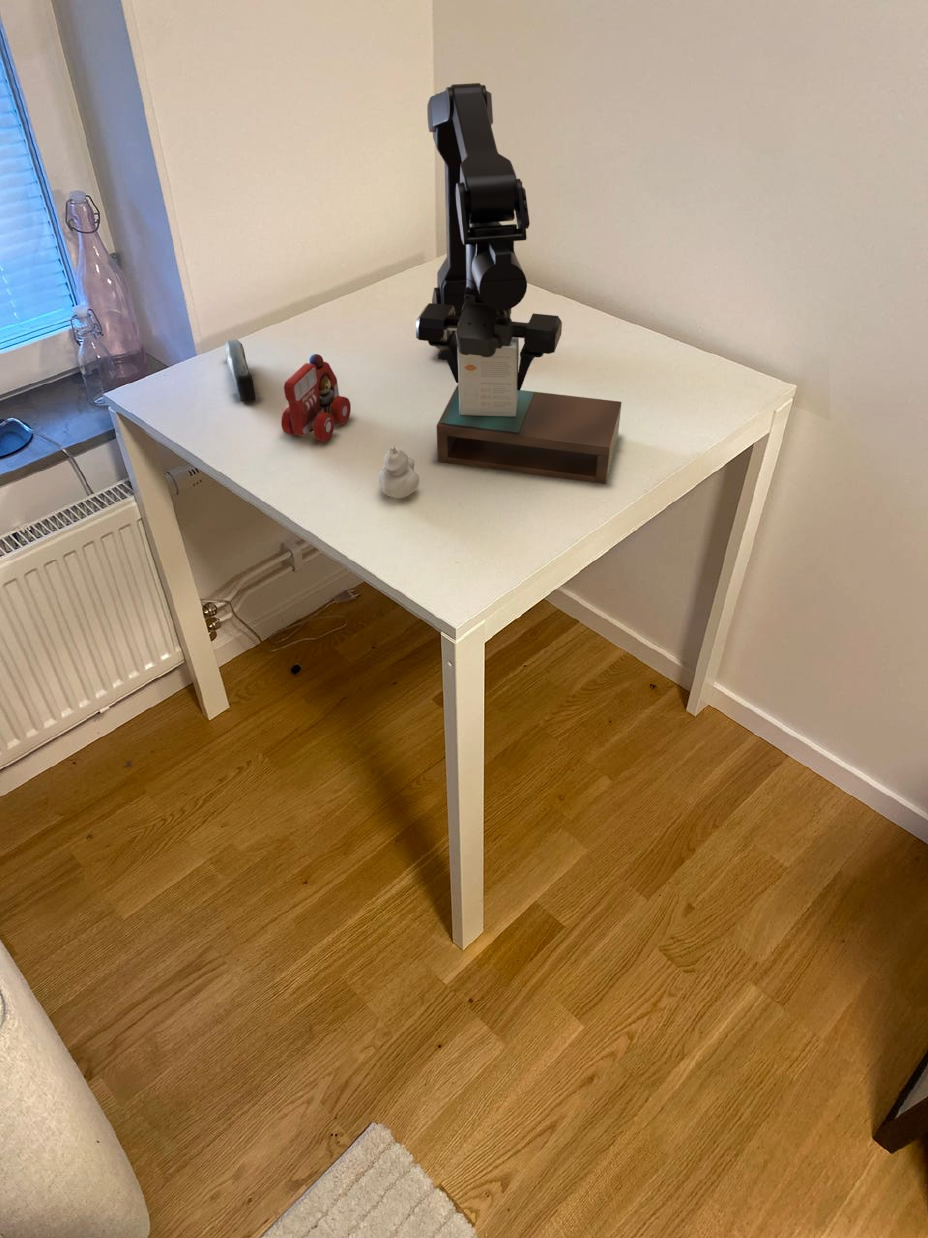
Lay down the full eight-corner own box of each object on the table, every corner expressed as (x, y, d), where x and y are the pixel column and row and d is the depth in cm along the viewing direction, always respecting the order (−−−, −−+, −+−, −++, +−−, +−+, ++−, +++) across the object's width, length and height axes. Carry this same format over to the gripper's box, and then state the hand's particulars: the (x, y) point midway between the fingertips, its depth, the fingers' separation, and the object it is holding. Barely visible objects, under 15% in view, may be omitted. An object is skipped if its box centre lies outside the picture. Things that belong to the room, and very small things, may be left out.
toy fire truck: (358, 410, 143) (351, 347, 136) (318, 452, 135) (309, 388, 128) (318, 402, 145) (309, 339, 138) (277, 443, 137) (265, 379, 130)
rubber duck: (371, 499, 127) (366, 449, 121) (395, 473, 131) (391, 424, 125) (406, 509, 125) (402, 458, 119) (429, 483, 129) (427, 433, 124)
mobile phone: (254, 374, 142) (237, 329, 152) (235, 378, 142) (218, 332, 152) (260, 402, 146) (242, 357, 156) (240, 406, 145) (224, 360, 155)
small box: (518, 397, 133) (520, 328, 126) (516, 418, 129) (517, 347, 122) (462, 395, 134) (461, 326, 127) (458, 415, 130) (456, 345, 123)
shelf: (437, 461, 133) (436, 424, 129) (459, 418, 141) (458, 381, 137) (605, 484, 128) (610, 445, 124) (617, 437, 137) (621, 400, 132)
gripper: (399, 295, 115) (407, 407, 126) (549, 310, 111) (543, 424, 122) (425, 259, 123) (430, 367, 133) (565, 271, 119) (559, 381, 130)
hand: (488, 385), depth 130 cm, fingers closed on small box, 8 cm apart
